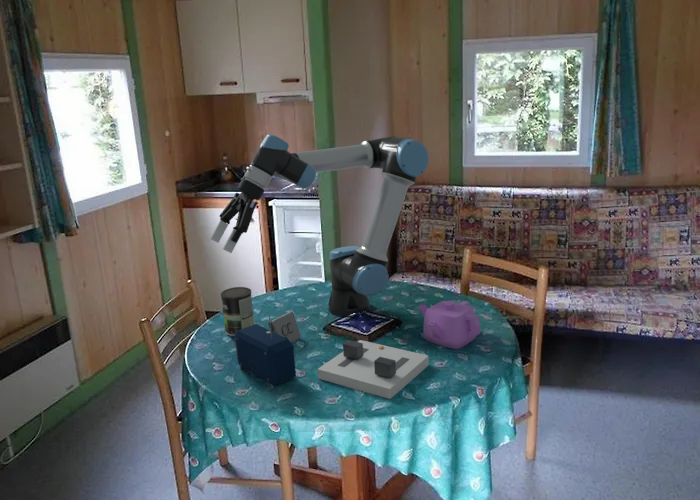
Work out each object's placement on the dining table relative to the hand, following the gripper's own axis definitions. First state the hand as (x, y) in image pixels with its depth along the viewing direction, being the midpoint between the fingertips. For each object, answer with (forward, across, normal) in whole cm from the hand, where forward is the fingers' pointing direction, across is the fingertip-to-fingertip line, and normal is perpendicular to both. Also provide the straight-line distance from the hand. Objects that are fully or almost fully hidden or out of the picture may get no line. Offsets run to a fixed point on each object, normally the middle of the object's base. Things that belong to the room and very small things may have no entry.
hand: (220, 245), depth 189 cm
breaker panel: (+10, +34, +47) cm, 59 cm away
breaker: (+8, +43, +44) cm, 62 cm away
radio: (+26, +17, +25) cm, 40 cm away
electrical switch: (+19, 0, +35) cm, 40 cm away
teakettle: (-7, +28, +72) cm, 77 cm away
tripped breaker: (+10, +28, +42) cm, 51 cm away
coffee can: (+25, -18, +28) cm, 41 cm away
